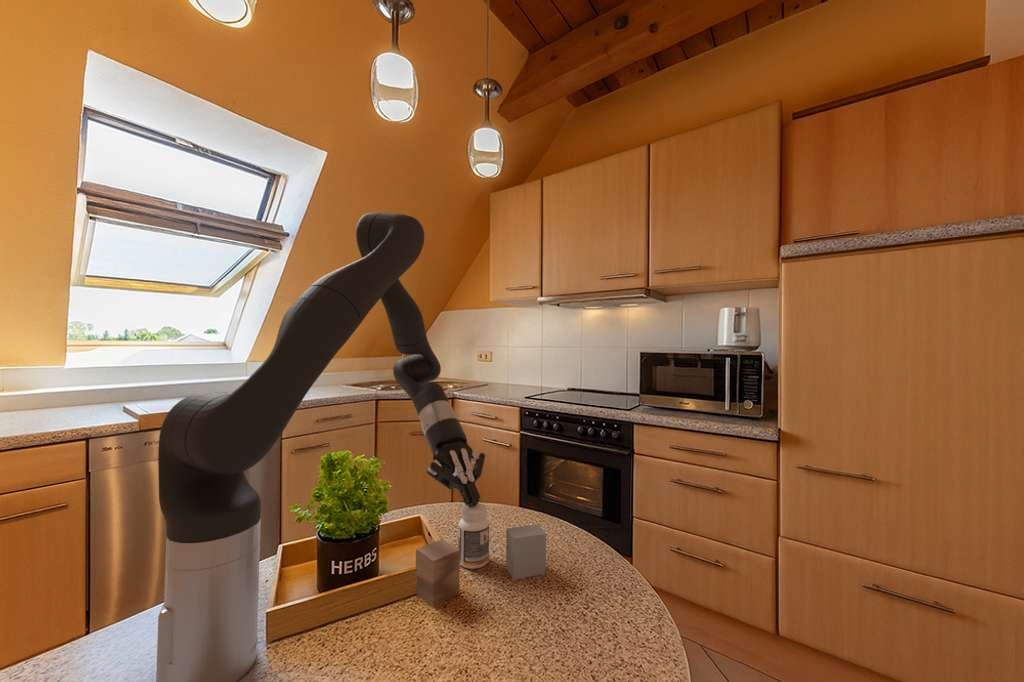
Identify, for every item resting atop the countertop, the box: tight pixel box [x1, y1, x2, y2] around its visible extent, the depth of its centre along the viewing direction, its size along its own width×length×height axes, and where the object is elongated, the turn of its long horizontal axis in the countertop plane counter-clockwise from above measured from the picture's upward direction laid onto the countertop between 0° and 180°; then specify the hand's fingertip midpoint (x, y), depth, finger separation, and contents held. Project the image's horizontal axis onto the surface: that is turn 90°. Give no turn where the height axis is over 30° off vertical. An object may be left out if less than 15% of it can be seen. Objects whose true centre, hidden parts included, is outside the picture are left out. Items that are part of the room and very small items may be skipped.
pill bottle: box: [457, 502, 490, 570], centre depth 74 cm, size 6×6×10 cm
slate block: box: [505, 523, 547, 581], centre depth 72 cm, size 6×4×7 cm, turn 110°
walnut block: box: [415, 538, 461, 608], centre depth 65 cm, size 5×5×7 cm
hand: (474, 504), depth 75 cm, fingers closed
